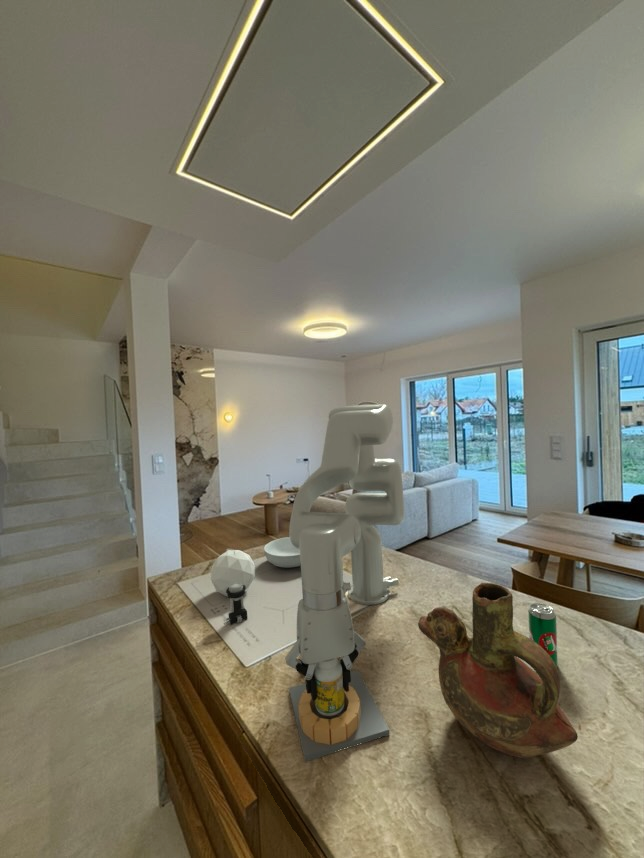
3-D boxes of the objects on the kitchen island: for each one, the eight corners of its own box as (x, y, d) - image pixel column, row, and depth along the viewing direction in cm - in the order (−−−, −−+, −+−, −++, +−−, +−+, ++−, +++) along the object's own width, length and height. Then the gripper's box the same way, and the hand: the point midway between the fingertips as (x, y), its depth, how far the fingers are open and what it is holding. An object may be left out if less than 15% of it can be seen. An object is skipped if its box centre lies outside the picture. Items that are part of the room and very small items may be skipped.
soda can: (532, 651, 79) (530, 599, 79) (558, 660, 76) (557, 606, 76) (528, 664, 75) (526, 610, 75) (556, 674, 72) (554, 617, 72)
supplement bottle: (349, 699, 65) (346, 649, 65) (336, 722, 61) (333, 668, 60) (324, 689, 68) (321, 641, 67) (309, 710, 63) (306, 659, 63)
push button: (227, 630, 94) (224, 593, 93) (220, 621, 98) (218, 586, 98) (250, 621, 97) (248, 586, 97) (243, 612, 102) (241, 579, 101)
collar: (348, 686, 71) (347, 674, 71) (369, 732, 60) (368, 718, 60) (294, 700, 68) (294, 687, 68) (307, 752, 57) (306, 737, 57)
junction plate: (358, 674, 75) (358, 669, 75) (389, 734, 61) (389, 729, 61) (289, 692, 71) (289, 687, 71) (305, 761, 57) (305, 755, 57)
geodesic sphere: (198, 572, 117) (206, 544, 110) (237, 558, 127) (247, 532, 120) (215, 612, 109) (226, 585, 102) (255, 594, 118) (267, 569, 111)
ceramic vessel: (441, 665, 76) (436, 553, 76) (589, 739, 58) (585, 591, 57) (397, 715, 64) (391, 582, 64) (566, 828, 46) (560, 643, 45)
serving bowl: (329, 557, 138) (328, 539, 138) (297, 579, 121) (296, 559, 120) (287, 548, 150) (286, 532, 149) (253, 568, 132) (252, 550, 132)
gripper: (359, 576, 69) (364, 665, 70) (273, 593, 65) (279, 687, 65) (375, 595, 62) (380, 693, 63) (279, 615, 57) (285, 720, 58)
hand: (328, 689), depth 64 cm, fingers closed on supplement bottle, 5 cm apart
